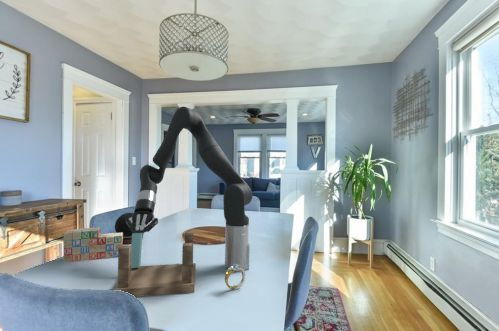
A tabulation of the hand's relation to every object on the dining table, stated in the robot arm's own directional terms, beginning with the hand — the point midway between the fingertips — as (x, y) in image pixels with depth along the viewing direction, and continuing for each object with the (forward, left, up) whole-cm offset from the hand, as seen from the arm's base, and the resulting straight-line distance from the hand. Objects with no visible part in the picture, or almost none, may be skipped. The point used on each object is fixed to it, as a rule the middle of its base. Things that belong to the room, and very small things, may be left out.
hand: (137, 241), depth 97 cm
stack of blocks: (+21, -18, -12) cm, 30 cm away
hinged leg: (0, +5, -8) cm, 9 cm away
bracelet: (-35, +20, -11) cm, 42 cm away
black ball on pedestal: (+13, -40, -12) cm, 44 cm away
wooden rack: (-10, +11, -11) cm, 18 cm away
